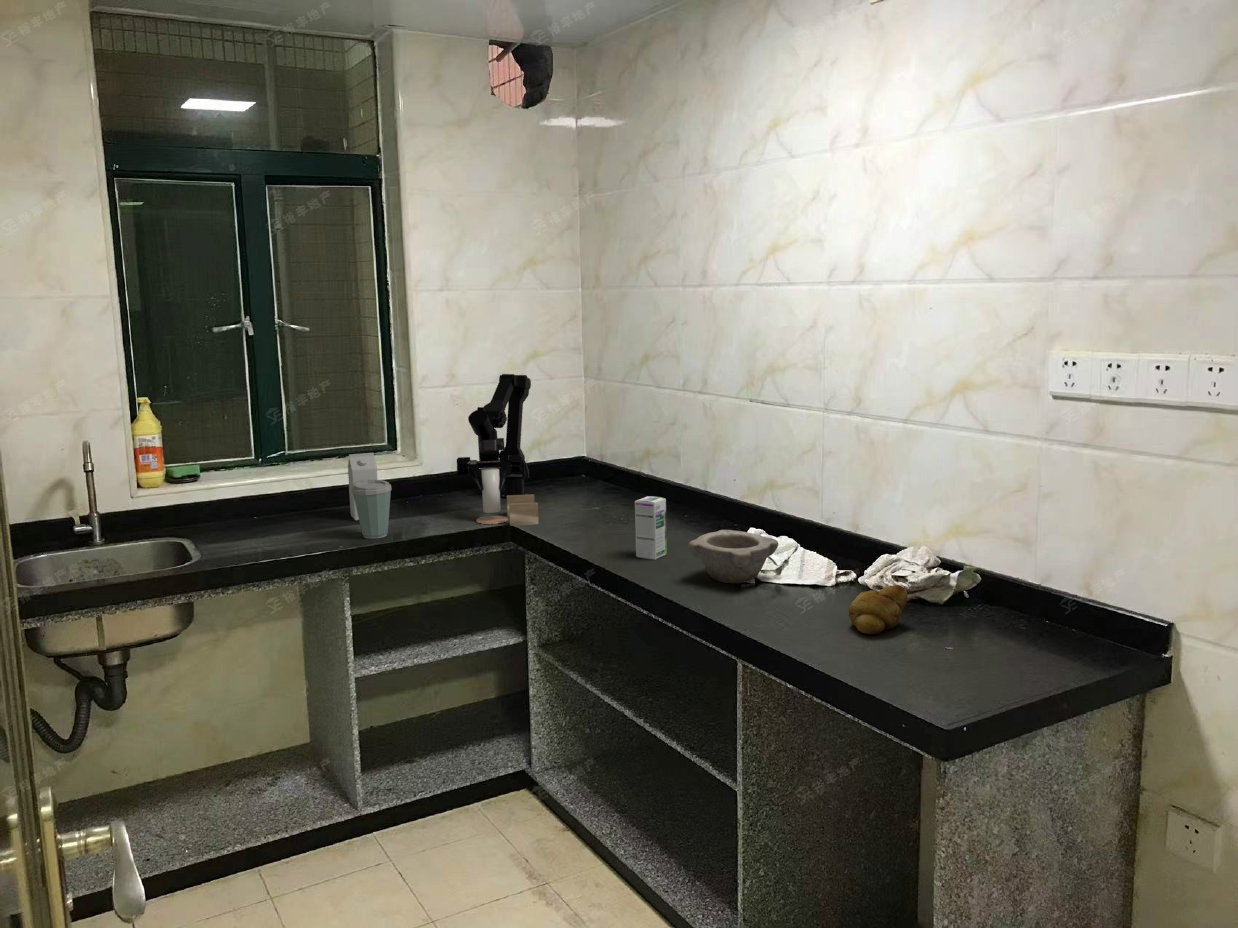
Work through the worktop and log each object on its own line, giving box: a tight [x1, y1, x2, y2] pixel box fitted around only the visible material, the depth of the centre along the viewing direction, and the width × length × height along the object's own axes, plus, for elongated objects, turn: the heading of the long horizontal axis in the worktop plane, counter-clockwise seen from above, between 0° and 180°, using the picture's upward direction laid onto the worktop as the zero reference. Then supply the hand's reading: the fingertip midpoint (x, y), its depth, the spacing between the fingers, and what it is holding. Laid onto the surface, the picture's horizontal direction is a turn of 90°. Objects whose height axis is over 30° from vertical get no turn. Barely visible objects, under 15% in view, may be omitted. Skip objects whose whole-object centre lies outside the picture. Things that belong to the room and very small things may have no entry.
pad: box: [475, 515, 509, 526], centre depth 281 cm, size 9×9×1 cm
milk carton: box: [347, 452, 378, 521], centre depth 287 cm, size 7×7×19 cm
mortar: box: [687, 529, 779, 584], centre depth 222 cm, size 17×17×9 cm
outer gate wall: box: [509, 501, 539, 526], centre depth 277 cm, size 2×8×6 cm, turn 100°
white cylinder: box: [480, 468, 502, 514], centre depth 280 cm, size 5×5×12 cm
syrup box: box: [634, 495, 668, 561], centre depth 241 cm, size 6×6×14 cm
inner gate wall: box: [506, 493, 536, 517], centre depth 288 cm, size 2×8×6 cm, turn 100°
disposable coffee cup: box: [352, 478, 392, 540], centre depth 264 cm, size 11×11×15 cm
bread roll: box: [848, 584, 908, 635], centre depth 189 cm, size 13×10×8 cm
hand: (491, 489), depth 278 cm, fingers closed on white cylinder, 5 cm apart
